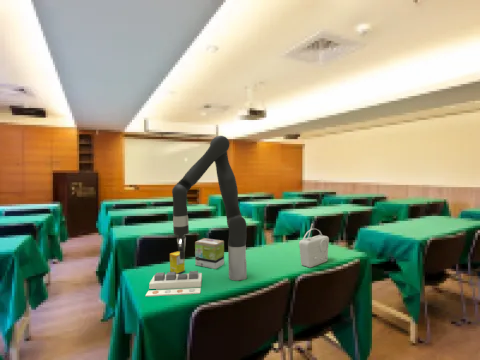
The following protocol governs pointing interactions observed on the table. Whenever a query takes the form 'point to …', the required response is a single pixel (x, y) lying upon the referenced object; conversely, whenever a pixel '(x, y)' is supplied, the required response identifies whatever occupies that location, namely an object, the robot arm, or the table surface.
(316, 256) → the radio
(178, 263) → the supplement box
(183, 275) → the button
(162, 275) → the button
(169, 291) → the pattern card
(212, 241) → the tea box
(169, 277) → the button
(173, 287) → the button board
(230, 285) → the table surface
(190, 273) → the button
